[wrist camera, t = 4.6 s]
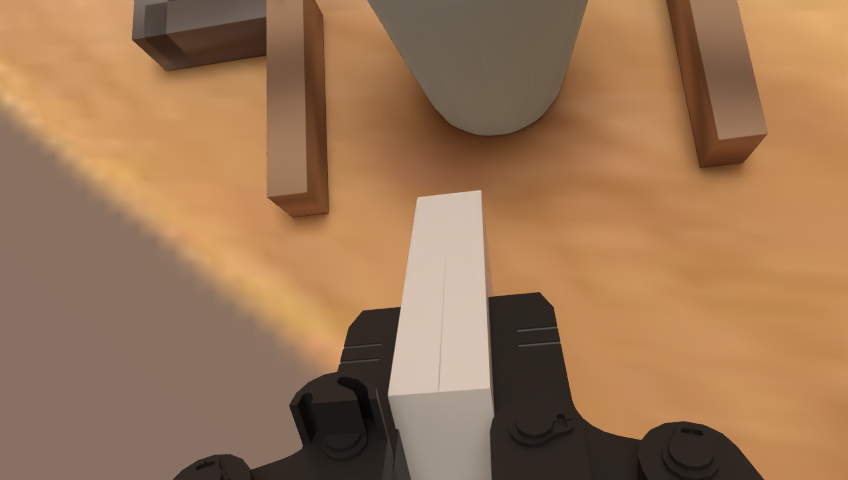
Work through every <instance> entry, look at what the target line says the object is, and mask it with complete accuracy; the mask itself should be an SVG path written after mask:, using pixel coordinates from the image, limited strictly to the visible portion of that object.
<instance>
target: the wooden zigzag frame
mask: <svg viewBox="0 0 848 480" xmlns="http://www.w3.org/2000/svg"><path fill="white" fill-rule="evenodd" d="M667 3H668V8H669V13H670V18H671V23H672V28H673V34H674V39H675V44H676V49H677V54H678V59H679V64H680V69H681V74H682V79H683V84H684V89H685V94H686V99H687V104H688V109H689V114H690V119H691V124H692V129H693V134H694V139H695V144H696V149H697V155H698V160H699V165H700V168H701V167H709V166H717V165H725V164H734V163H742V162H744V161H745V160H746V159H747V158H748V157H749V155H750V154H751V153H752V152H753V151H754V149H755V148H756V147H757V146H758V145H759V144H760V142H761V141H762V140H763V139H764V138H765V136H766V135H767V134H768V132H767V128H766V124H765V119H764V115H763V111H762V106H761V102H760V98H759V93H758V89H757V85H756V81H755V76H754V72H753V68H752V63H751V59H750V55H749V50H748V46H747V42H746V38H745V33H744V29H743V25H742V20H741V16H740V12H739V7H738V3H737V0H667ZM132 40H133V41H134V42H135V43H136V44H137V45H138V46H140V47H141V48H142V49H143V50H144V51H145V52H146V53H147V54H148V55H149V56H151V57H152V58H153V59H154V60H155V61H156V62H157V63H158V64H159V65H160V66H161V67H163V68H164V69H165V70H166V71H168V70H174V69H181V68H187V67H193V66H199V65H205V64H212V63H218V62H224V61H230V60H236V59H243V58H249V57H255V56H261V55H267V198H269V199H270V200H271V201H273V202H274V203H275V204H276V205H278V206H279V207H280V208H282V209H283V210H284V211H285V212H287V213H288V214H289V215H290V216H292V217H298V216H306V215H314V214H322V213H329V204H328V172H327V139H326V106H325V73H324V40H323V14H322V13H321V11H320V9H319V7H318V5H317V3H316V2H315V0H134V15H133V31H132Z"/></svg>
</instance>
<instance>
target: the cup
mask: <svg viewBox="0 0 848 480" xmlns="http://www.w3.org/2000/svg"><path fill="white" fill-rule="evenodd" d="M367 1H368V2H369V4H370V5H371V7H372V9H373V10H374V12H375V13H376V15H377V17H378V18H379V20H380V22H381V23H382V25H383V26H384V28H385V30H386V31H387V33H388V35H389V36H390V38H391V39H392V41H393V43H394V44H395V46H396V48H397V49H398V51H399V52H400V54H401V56H402V57H403V59H404V61H405V62H406V64H407V65H408V67H409V69H410V70H411V72H412V74H413V75H414V77H415V78H416V80H417V82H418V83H419V85H420V86H421V88H422V90H423V91H424V93H425V94H426V96H427V98H428V99H429V101H430V102H431V104H432V105H433V107H434V108H435V109H436V110H437V111H438V112H439V113H440V114H441V115H442V116H443V117H444V119H445V120H446V121H447V122H449V123H450V124H451V125H453V126H455V127H457V128H459V129H462V130H464V131H467V132H470V133H473V134H476V135H485V136H489V135H503V134H509V133H513V132H515V131H518V130H520V129H522V128H524V127H526V126H528V125H530V124H531V123H533V122H535V121H536V120H538V119H539V118H540V117H541V116H542V115H543V114H544V113H545V112H546V111H547V109H548V108H549V107H550V106H551V104H552V103H553V102H554V101H555V99H556V98H557V96H558V94H559V92H560V89H561V86H562V83H563V80H564V77H565V74H566V70H567V67H568V64H569V61H570V57H571V54H572V51H573V48H574V44H575V41H576V38H577V35H578V31H579V28H580V25H581V22H582V18H583V15H584V12H585V9H586V5H587V2H588V0H367Z"/></svg>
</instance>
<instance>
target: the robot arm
mask: <svg viewBox="0 0 848 480" xmlns="http://www.w3.org/2000/svg"><path fill="white" fill-rule="evenodd" d="M340 363H341V364H339V367H338V371H337V372H334V373H330V374H325V375H322V376H320V377H318V378H316V379H314V380H312V381H310V382H308V383H307V384H306V385H305V386H304V387H303V388H301V390H299V391H298V392H297V393H296V394H295V396H294V398H293V400H292V401H291V403H290V405H289V406H290V409H291V412H292V415H293V418H294V421H295V423H296V426H297V429H298V432H299V435H300V438H301V441H302V444H303V447H302V449H301V450H299V451H298V452H296V453H295V454H293V455H291V456H288V457H286V458H284V459H281V460H279V461H276V462H273V463H270V464H267V465H264V466H261V467H258V468H255V469H252V470H250V468H249V467H248V465H247V464H246V463H245V462H244V460H243V459H241V458H239V457H236V456H233V455H231V454H225V455H213V456H210V457H207V458H204V459H201V460H198V461H196V462H195V463H193V464H191V465H190V466H188V467H187V468H185V469H183V470H182V471H181V472H180V473H179V474H178V475H177V476H176V477H175V478H174V479H173V480H764V479H763V478H762V476H761V475H760V474H759V473H758V472H757V470H756V469H755V468H754V467H753V465H752V464H751V463H750V462H749V460H748V459H747V458H746V457H745V456H744V454H743V453H742V452H741V451H740V449H739V448H738V447H737V446H736V445H735V444H734V443H733V442H732V441H730V440H729V439H728V438H727V437H726V436H725V435H724V434H722V433H720V432H718V431H716V430H714V429H712V428H709V427H707V426H705V425H702V424H696V423H691V422H685V421H682V422H672V423H664V424H662V425H660V426H658V427H656V428H653V429H651V430H650V431H649V432H648V433H647V434H646V435H645V436H644V438H643V439H642V440H638V439H633V438H627V437H622V436H618V435H614V434H611V433H607V432H604V431H602V430H600V429H598V428H596V427H594V426H592V425H591V424H590V423H588V422H587V421H586V420H585V419H583V418H582V417H581V415H580V414H579V413H578V411H577V410H576V409H575V406H574V404H573V401H572V397H571V392H570V387H569V382H568V377H567V372H566V367H565V362H564V357H563V352H562V347H561V344H560V337H559V332H558V329H557V322H556V317H555V312H554V307H553V306H552V305H551V304H550V303H549V302H548V301H547V300H546V299H545V298H544V297H543V295H542V294H541V293H540V292H537V293H526V294H516V295H505V296H495V297H494V295H493V283H492V275H491V267H490V259H489V250H488V242H487V234H486V226H485V218H484V210H483V202H482V194H481V190H477V191H468V192H460V193H451V194H442V195H434V196H425V197H417V204H416V211H415V217H414V224H413V231H412V237H411V244H410V251H409V257H408V264H407V271H406V277H405V284H404V291H403V297H402V304H401V307H396V308H386V309H375V310H364V311H362V312H361V314H360V315H359V316H358V317H357V318H356V319H355V321H354V322H353V323H352V324H351V325H350V327H349V329H348V332H347V336H346V340H345V344H344V349H343V352H342V356H341V360H340Z"/></svg>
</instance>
